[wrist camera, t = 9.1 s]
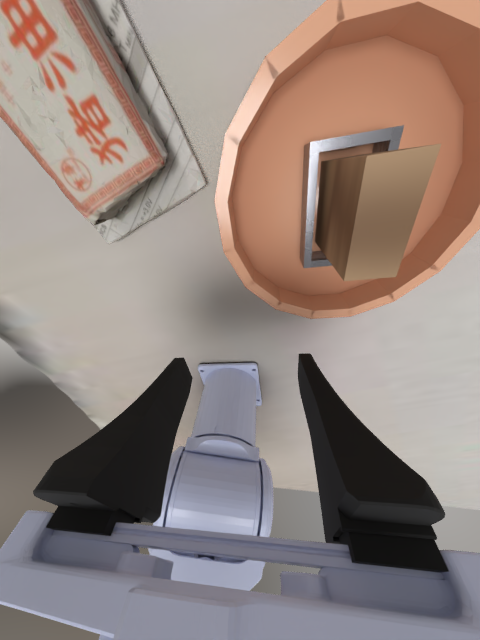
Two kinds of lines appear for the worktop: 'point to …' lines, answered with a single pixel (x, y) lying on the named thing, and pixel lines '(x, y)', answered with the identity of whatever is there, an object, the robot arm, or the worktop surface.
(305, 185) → the hinged hatch frame
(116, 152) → the packaged product
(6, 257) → the worktop surface
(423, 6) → the orange round shallow bowl
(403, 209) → the wood hatch door
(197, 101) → the worktop surface
